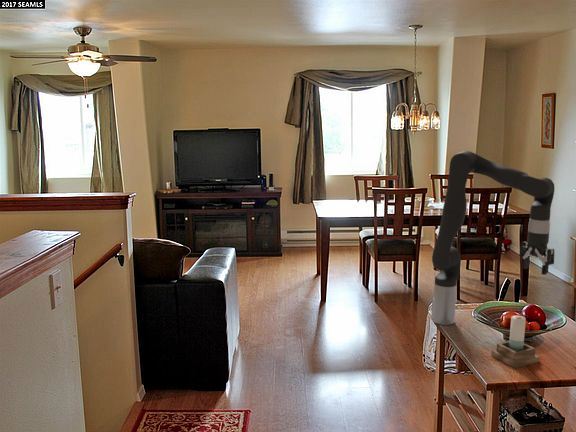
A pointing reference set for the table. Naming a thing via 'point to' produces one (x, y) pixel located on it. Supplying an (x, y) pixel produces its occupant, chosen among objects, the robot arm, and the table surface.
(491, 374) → the table surface
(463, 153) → the robot arm
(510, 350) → the stand
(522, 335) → the roll
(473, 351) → the table surface
